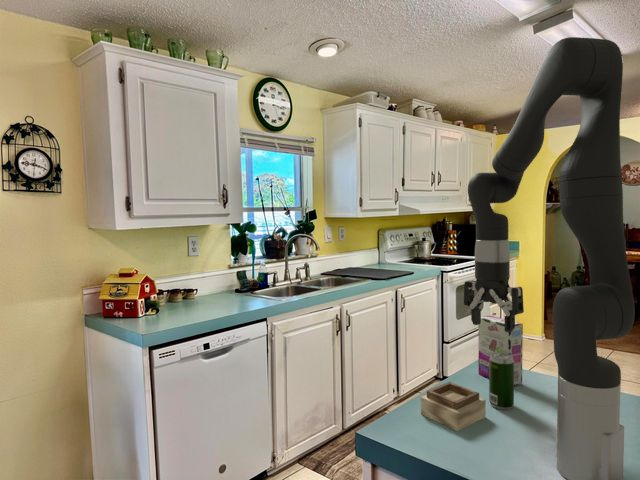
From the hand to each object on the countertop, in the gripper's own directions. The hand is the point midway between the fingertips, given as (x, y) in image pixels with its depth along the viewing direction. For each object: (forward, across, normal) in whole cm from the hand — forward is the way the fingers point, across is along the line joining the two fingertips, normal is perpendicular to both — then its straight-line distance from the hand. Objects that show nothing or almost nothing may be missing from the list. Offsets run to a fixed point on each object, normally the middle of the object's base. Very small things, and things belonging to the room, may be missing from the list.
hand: (492, 327), depth 103 cm
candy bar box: (+19, +8, -15) cm, 25 cm away
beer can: (+19, -1, -2) cm, 19 cm away
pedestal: (+19, +2, +12) cm, 22 cm away
